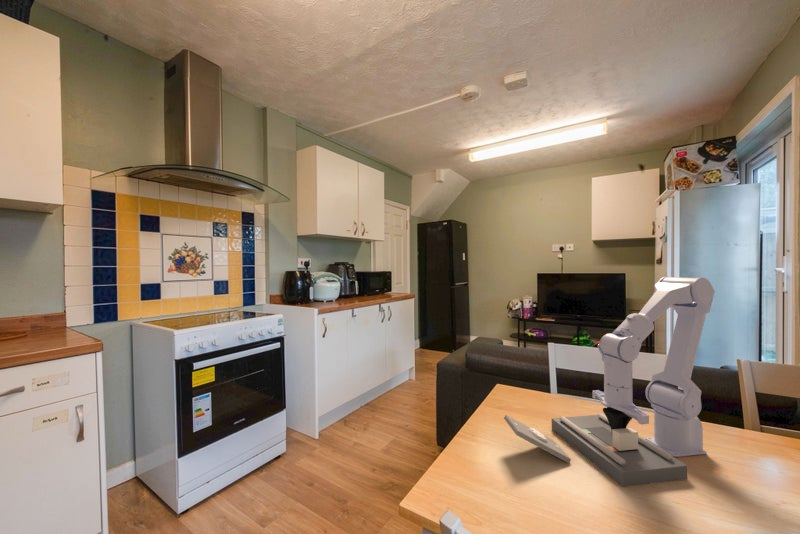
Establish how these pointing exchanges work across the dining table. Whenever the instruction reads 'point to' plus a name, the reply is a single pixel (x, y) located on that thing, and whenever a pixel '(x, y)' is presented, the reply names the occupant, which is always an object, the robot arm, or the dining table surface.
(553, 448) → the light switch
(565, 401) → the dining table surface
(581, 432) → the pair of cream rails
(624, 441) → the lever
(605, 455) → the box
